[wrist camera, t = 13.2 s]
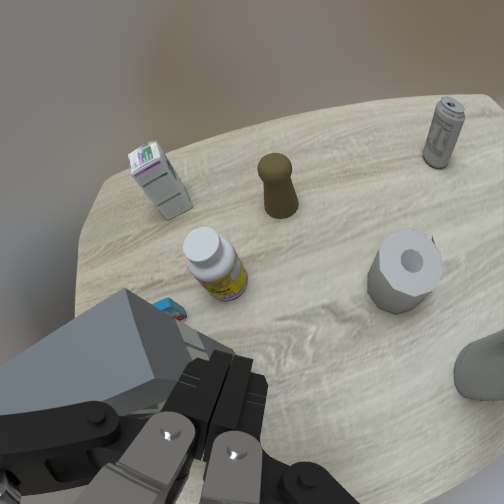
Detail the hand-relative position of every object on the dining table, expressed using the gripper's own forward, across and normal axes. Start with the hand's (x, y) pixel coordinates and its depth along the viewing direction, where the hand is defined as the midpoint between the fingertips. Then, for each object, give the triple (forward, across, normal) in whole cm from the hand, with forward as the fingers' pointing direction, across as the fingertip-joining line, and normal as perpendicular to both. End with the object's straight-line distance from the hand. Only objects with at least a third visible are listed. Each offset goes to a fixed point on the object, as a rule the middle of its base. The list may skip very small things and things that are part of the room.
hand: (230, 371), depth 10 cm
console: (+21, -7, -25) cm, 34 cm away
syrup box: (+44, -20, -2) cm, 49 cm away
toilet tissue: (+32, +21, -3) cm, 38 cm away
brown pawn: (+42, 0, +2) cm, 42 cm away
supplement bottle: (+33, -6, -10) cm, 35 cm away
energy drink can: (+48, +29, +20) cm, 60 cm away
